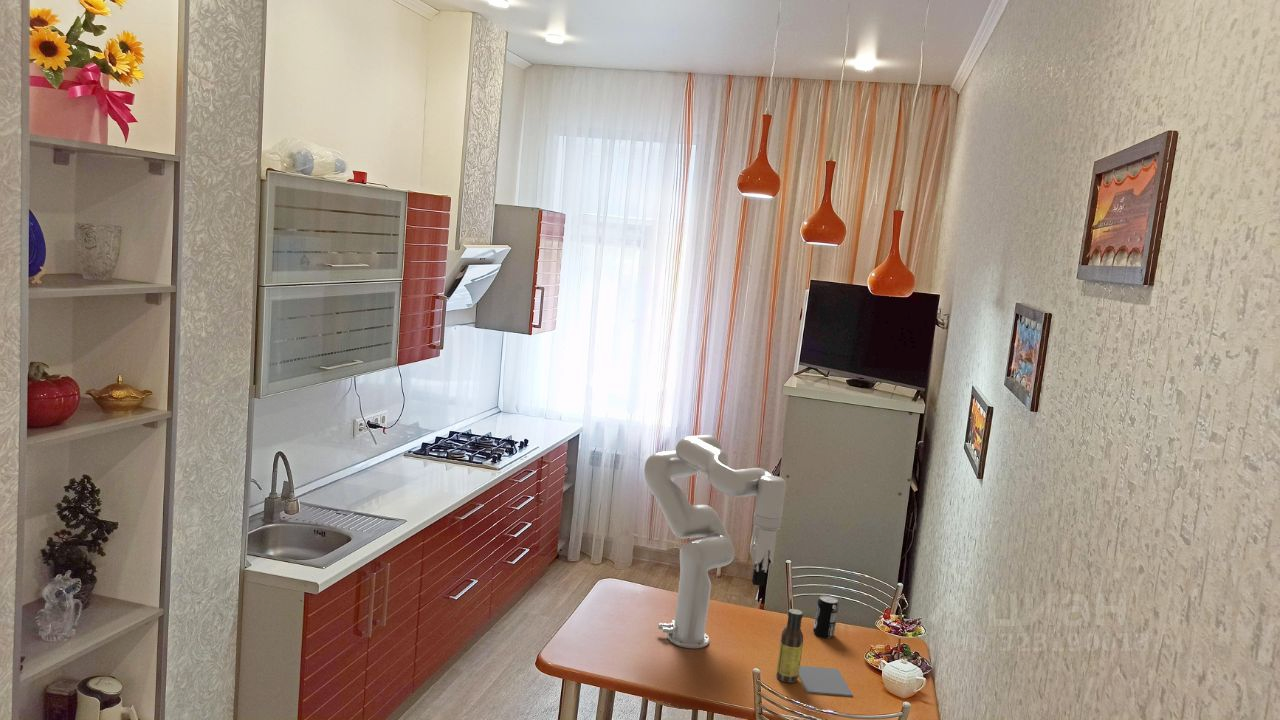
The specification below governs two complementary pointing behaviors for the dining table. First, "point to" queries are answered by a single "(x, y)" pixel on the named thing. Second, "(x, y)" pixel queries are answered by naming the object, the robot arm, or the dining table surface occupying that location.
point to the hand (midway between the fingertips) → (758, 583)
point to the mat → (823, 681)
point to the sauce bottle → (790, 648)
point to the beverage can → (826, 616)
